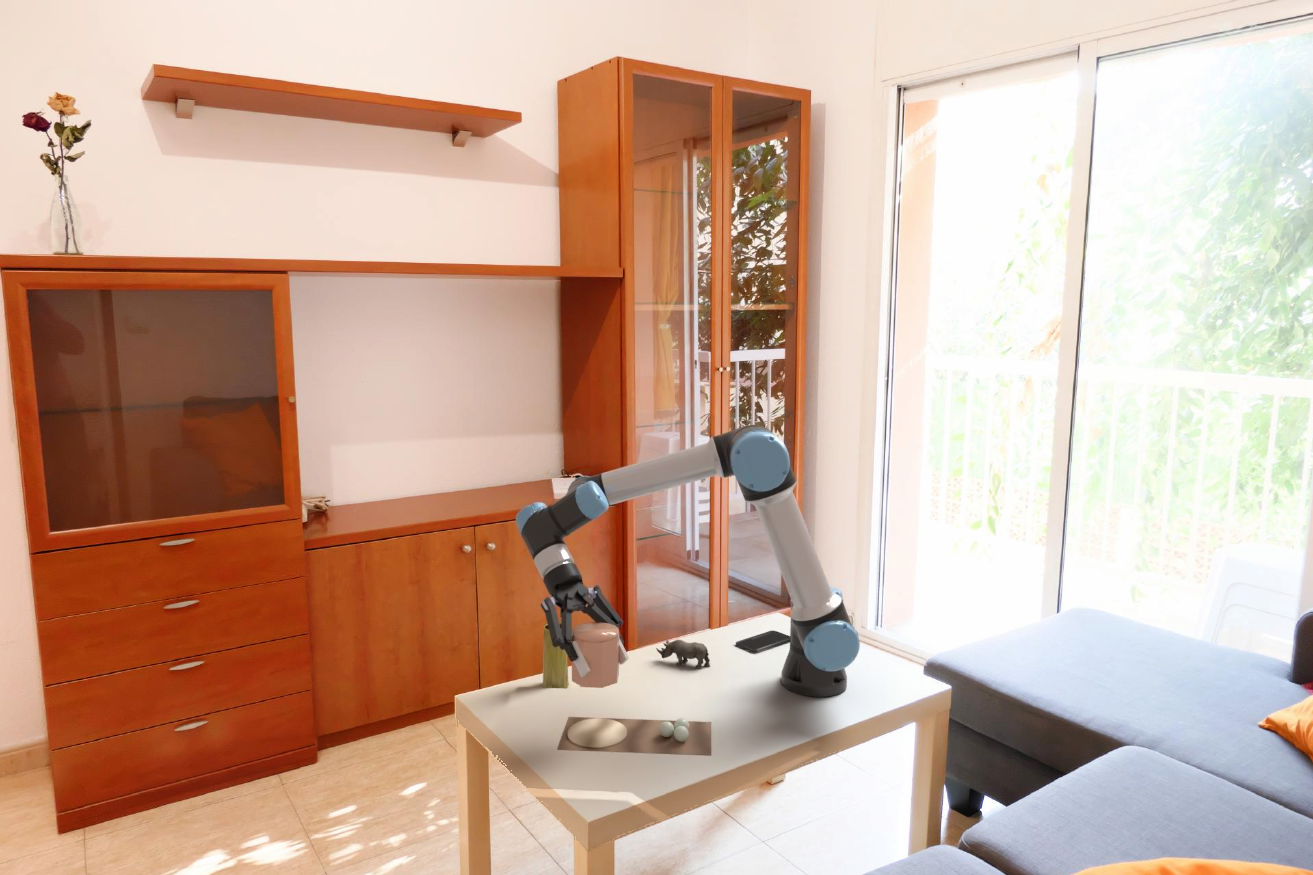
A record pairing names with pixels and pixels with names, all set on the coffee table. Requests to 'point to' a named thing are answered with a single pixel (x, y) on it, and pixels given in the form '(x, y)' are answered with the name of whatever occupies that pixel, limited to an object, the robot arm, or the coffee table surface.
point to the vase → (554, 664)
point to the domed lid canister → (597, 654)
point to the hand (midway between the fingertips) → (605, 667)
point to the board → (649, 738)
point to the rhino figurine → (686, 652)
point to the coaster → (597, 733)
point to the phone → (763, 642)
